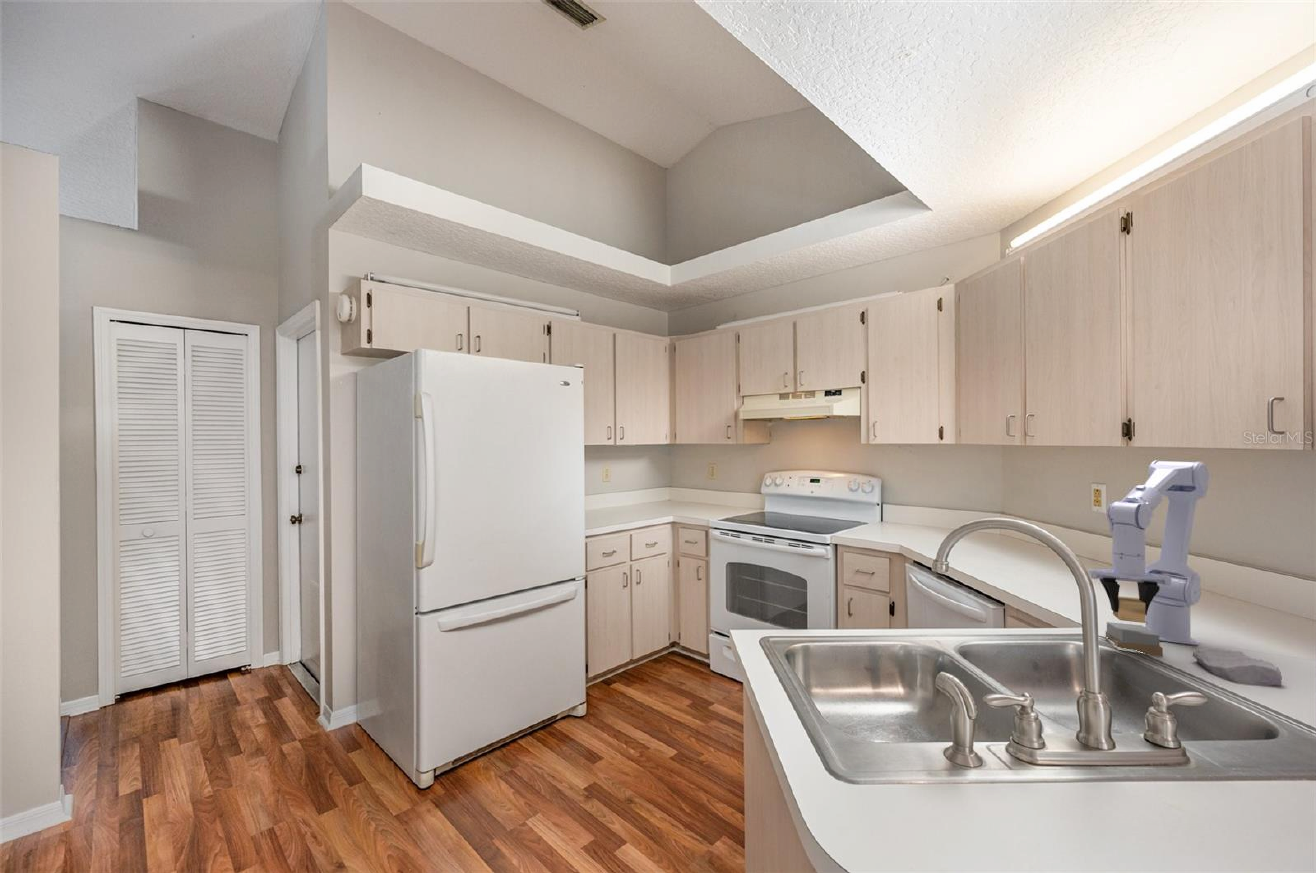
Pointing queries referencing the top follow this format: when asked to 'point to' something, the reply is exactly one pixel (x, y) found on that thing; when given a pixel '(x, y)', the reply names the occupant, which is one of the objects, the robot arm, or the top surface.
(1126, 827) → the top surface
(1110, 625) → the top slab
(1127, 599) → the oak cube
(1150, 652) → the bottom slab
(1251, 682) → the stone block
